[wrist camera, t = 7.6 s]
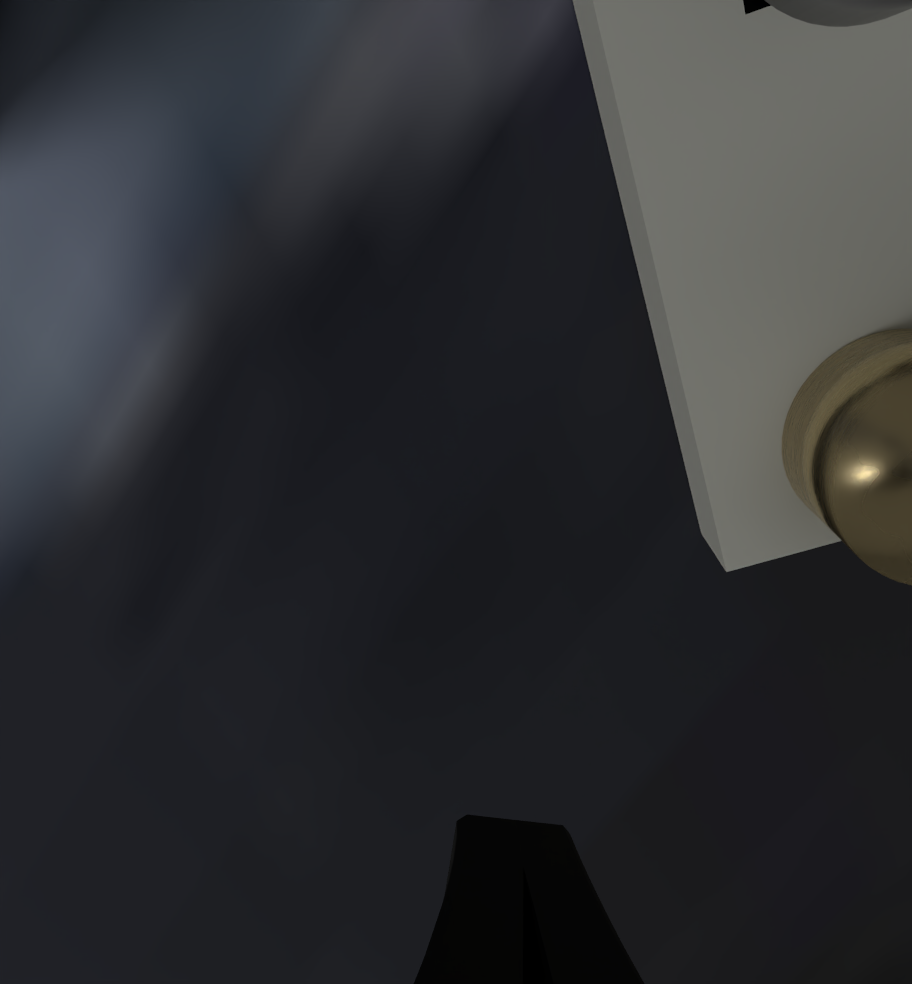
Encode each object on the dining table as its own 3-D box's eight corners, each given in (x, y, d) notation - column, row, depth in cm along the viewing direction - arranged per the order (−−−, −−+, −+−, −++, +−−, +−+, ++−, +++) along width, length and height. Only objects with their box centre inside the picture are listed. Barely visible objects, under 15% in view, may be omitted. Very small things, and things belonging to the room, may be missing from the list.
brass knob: (719, 452, 18) (786, 525, 14) (832, 280, 16) (939, 310, 13) (873, 532, 18) (977, 623, 14) (994, 371, 17) (1144, 426, 13)
